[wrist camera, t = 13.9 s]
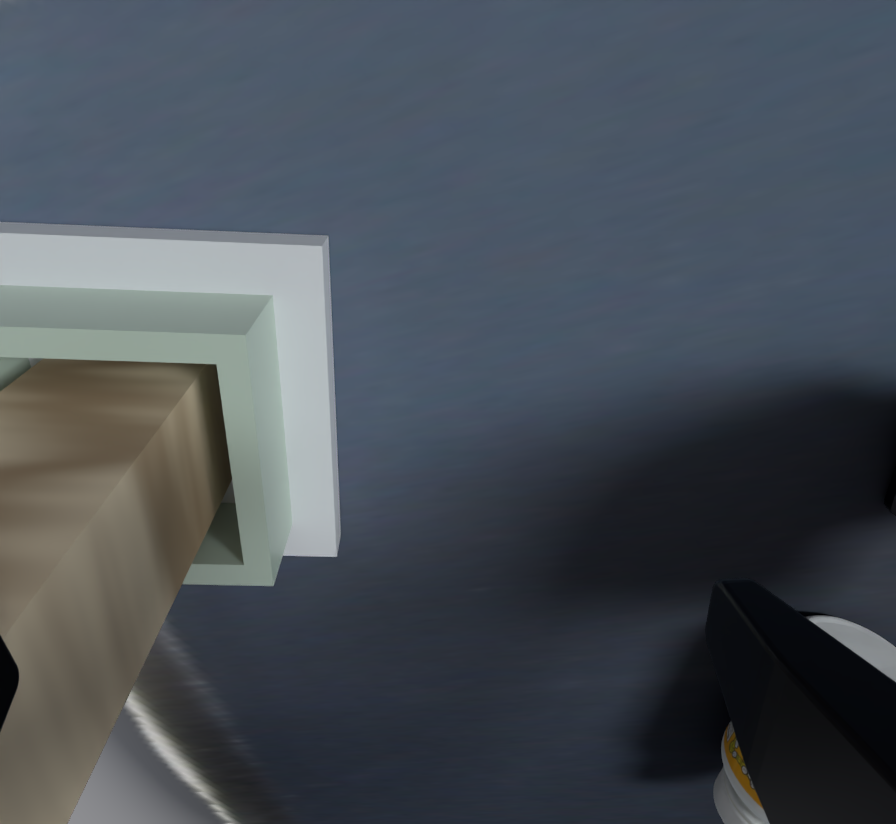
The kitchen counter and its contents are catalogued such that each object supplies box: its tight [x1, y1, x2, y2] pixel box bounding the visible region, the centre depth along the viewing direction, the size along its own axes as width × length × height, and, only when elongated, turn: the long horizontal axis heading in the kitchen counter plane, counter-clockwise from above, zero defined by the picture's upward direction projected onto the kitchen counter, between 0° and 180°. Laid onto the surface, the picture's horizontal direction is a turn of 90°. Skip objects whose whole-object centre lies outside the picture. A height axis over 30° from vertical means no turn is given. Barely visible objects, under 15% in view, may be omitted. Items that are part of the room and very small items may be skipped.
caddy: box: [0, 222, 341, 586], centre depth 19 cm, size 11×11×4 cm
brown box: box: [0, 358, 232, 824], centre depth 15 cm, size 4×4×12 cm
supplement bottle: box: [714, 615, 896, 824], centre depth 26 cm, size 5×5×10 cm
